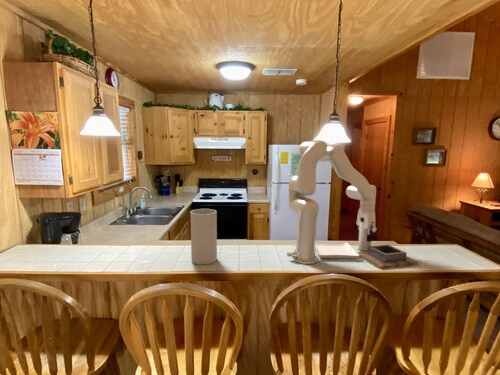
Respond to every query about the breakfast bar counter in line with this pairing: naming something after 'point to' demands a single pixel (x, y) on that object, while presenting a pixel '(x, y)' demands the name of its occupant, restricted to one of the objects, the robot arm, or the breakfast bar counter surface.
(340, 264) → the breakfast bar counter surface
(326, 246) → the salad plate
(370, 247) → the metal collar
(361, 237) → the travel mug
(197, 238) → the cylinder vase
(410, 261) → the walnut board
